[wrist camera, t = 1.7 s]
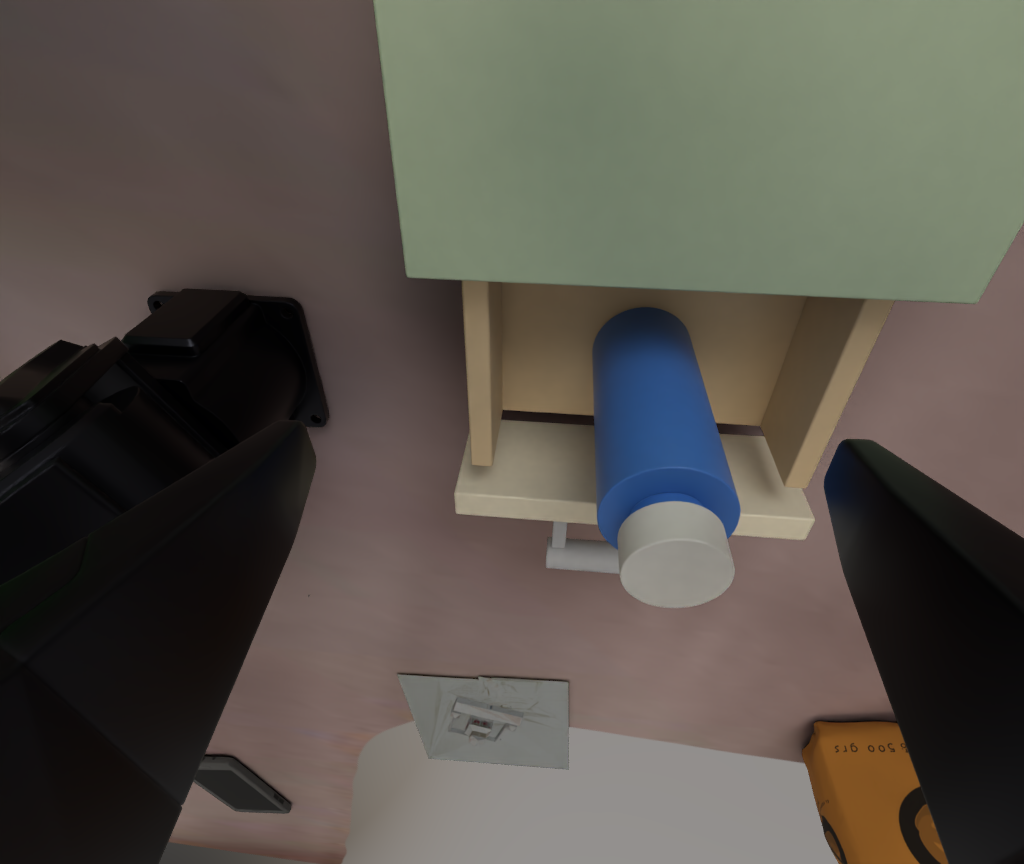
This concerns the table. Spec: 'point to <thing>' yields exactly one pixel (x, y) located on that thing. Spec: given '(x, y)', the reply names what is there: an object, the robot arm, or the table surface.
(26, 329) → the table surface
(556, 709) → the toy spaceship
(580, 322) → the drawer
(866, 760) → the coffee package
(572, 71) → the cabinet
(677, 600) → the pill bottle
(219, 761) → the cell phone
